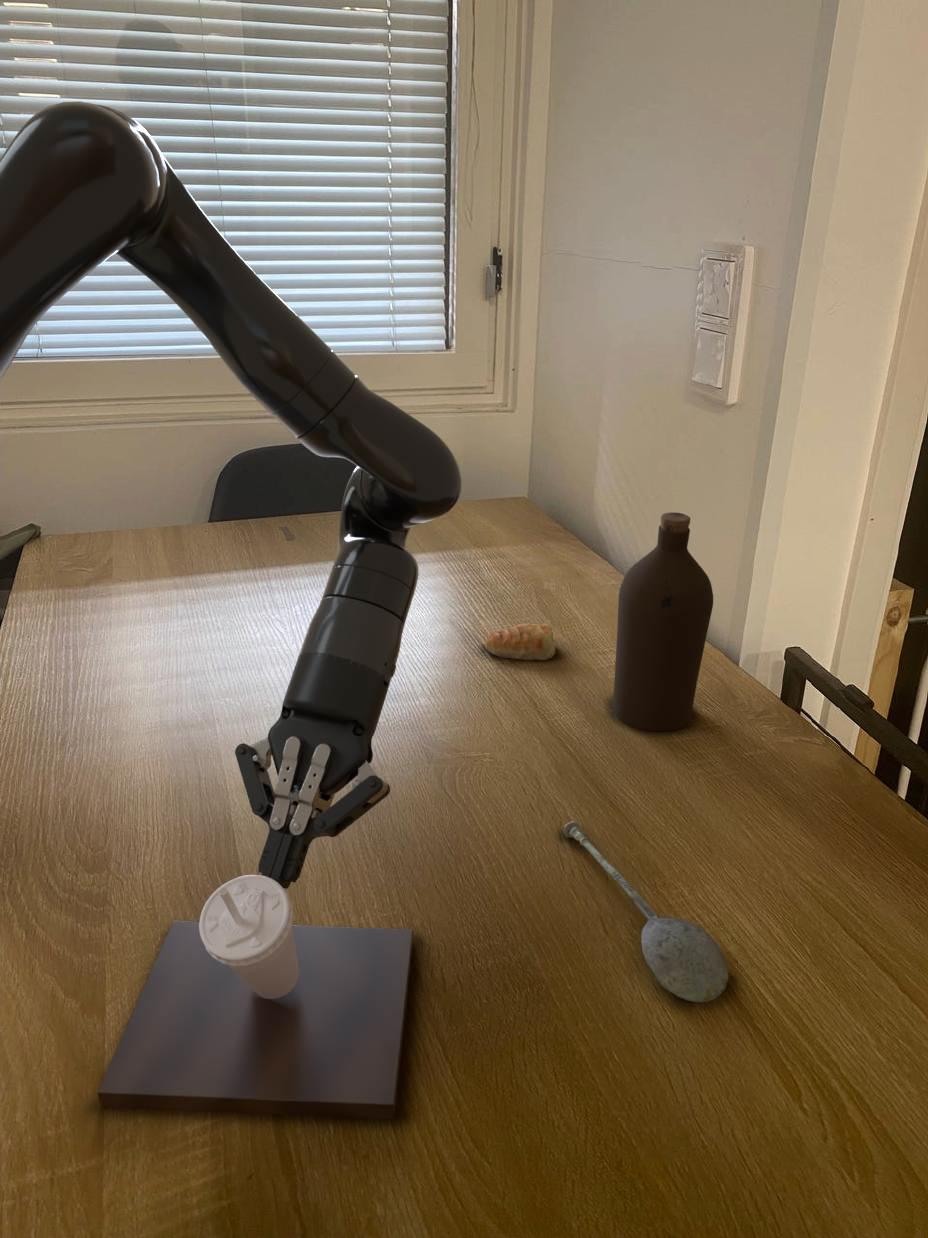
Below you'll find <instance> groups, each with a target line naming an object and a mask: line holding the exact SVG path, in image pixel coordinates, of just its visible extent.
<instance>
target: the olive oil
mask: <svg viewBox="0 0 928 1238" xmlns="http://www.w3.org/2000/svg"><path fill="white" fill-rule="evenodd" d="M690 524H691V517H690V516H689V515H687V514H685V513H681V512H673V511H672V512H665V513H663V514H661V516H660V524H659V527H658V531H657V543H656V546H655V547H654V548H653V549H652V550H651V551H650V552H648V553H647V554H646V555H644V556H643V557H642V558H641V559H639V560H638V561H637V562H636V563H634V564H633V565H632V566H631V567H630V568H629V569H628V570H627V572H626V573H625V576H624V577H623V580H622V582H621V584H620V586H619V587H620V588H619V592H618V601H617V603H618V604H617V625H616V645H615V646H616V647H615V649H616V650H615V662H614V682H613V695H612V711H613V713H614V715H615V716H616V717H617V718H618V719H619V720H620V721H621V722H623V723H624V724H626V725H628V726H630V727H633V728H635V729H638V730H642V731H646V732H653V733H659V732H660V733H665V732H672V731H676V730H679V729H681V728H683V727H685V726H686V725H687V724H688V723H689V722H690V720H691V718H692V712H693V707H694V701H695V697H696V690H697V684H698V679H699V675H700V671H701V670H700V669H701V664H702V660H703V654H704V650H705V645H706V641H707V636H708V631H709V626H710V622H711V617H712V612H713V609H714V608H713V607H714V591H713V587H712V582H711V580H710V578H709V576H708V574H707V573H706V572H705V570H704V569H703V568H702V566H701V565H700V564H699V563H698V561H697V560H696V559H695V558H694V557H693V556H692V554H691V553H690V551H689V549H688V546H689V545H688V544H689V540H690V532H691V529H690Z"/></svg>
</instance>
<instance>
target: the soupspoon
mask: <svg viewBox="0 0 928 1238" xmlns="http://www.w3.org/2000/svg"><path fill="white" fill-rule="evenodd" d="M562 829H563V830H562V832H563V834H564V836H565V837H566V838H569V839H574V840H576V841H577V842H578V843H580V846H582V847H584V848H585V849H586V850H587V851H588V853H590V855H591V856H592V857H593V858H594V859H595V860H596V862H597V863H599V865H600V866H601V867H602V868H603V870H605V871H606V873H608V875H609V876H610V877H611V878H612V879H613V880H614V881H615V882H616V883H617V884H618V886H619V887H620V888H621V889H622V890H623V892H625V894H626V895H627V896H628V897H629V899H630V900H631V901H632V903H633V904H634V905H635V906H636V908H637V909H638V910H639V911H640V912H641V914H642V915H643V916H644V918H645V920H647V922H646V924H645V925H643V928H642V930H641V933H640V941H641V942H640V943H641V944H640V945H641V950H642V955H643V957H644V960H645V962H646V964H647V966H648V967H649V969H650V970H651V971H652V973H653V975H654V976H655V978H656V980H658V982H659V984H661V986H662V987H663V988H664V989H666V991H668V992H670V993H672V994H673V995H675V996H676V997H677V998H680V999H683V1001H684V1000H685V1001H687V1002H692V1003H702V1004H704V1003H709V1002H711V1001H713V1000H716V999H717V998H719V996H721V995H722V993H724V991H725V989H726V987H727V986H728V983H729V969H728V963H727V960H726V957H725V955H724V953H723V951H722V950H721V948H720V946H719V944H718V943H717V942H716V941H715V939H713V937H712V936H711V935H710V934H708V932H706V931H705V930H704V929H703V928H702V927H700V926H698V925H696V924H695V923H693V922H691V921H688V920H685V919H682V918H678V917H671V916H659V915H658V914H657V913H656V912H655V911H654V910H653V908H652V907H651V906H650V905H649V903H648V902H647V901H646V900H645V899H644V898H643V897H642V895H640V893H638V891H637V890H636V889H635V888H634V887H633V885H631V883H629V882H628V881H627V879H626V878H625V877H624V876H623V875H622V874H621V873H620V872H619V871H618V870H617V869H616V868H615V867H614V866H613V865H612V864H611V863H610V862H609V861H608V860H607V859H606V858H605V856H603V855H602V854H601V853H600V852H599V851H598V850H597V849H596V847H595V846H593V845H592V844H591V840H590V839H589V838H588V837H586V836H585V834H584V833H583V831H581V826H580V824H579V822H578V821H575V820H574V821H573V820H572V821H570V822H568V823H566V824H565V825H564V827H563V828H562Z"/></svg>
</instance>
